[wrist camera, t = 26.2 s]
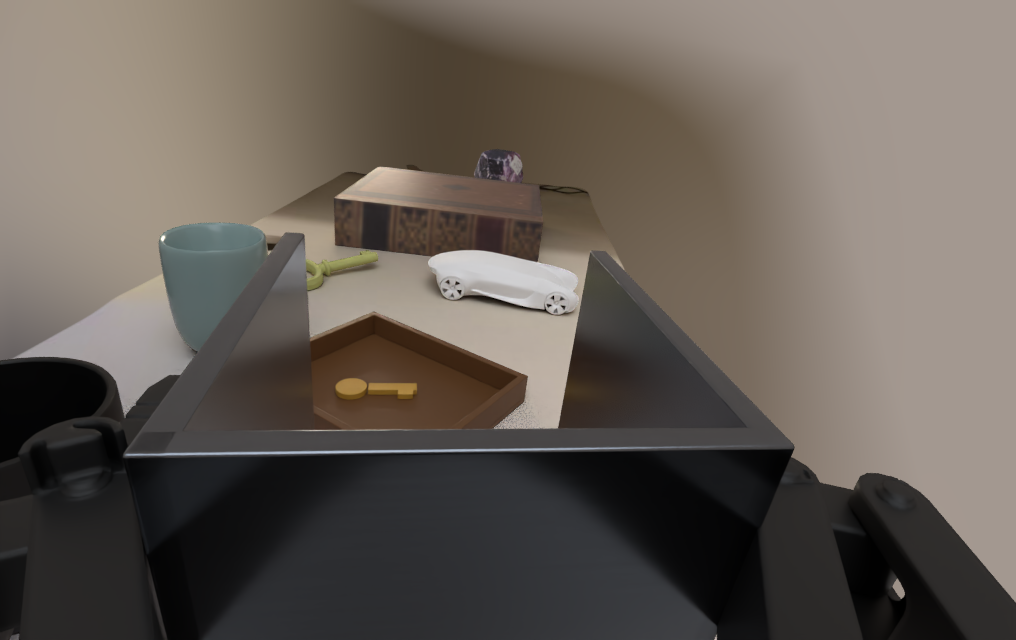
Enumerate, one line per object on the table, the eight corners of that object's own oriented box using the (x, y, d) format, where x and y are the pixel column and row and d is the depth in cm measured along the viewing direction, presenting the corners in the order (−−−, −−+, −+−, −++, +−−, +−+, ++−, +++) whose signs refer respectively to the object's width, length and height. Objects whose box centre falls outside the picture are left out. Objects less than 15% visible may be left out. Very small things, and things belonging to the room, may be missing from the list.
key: (382, 268, 68) (382, 252, 67) (299, 295, 59) (298, 276, 58) (343, 253, 71) (343, 238, 71) (259, 276, 62) (257, 259, 61)
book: (536, 267, 75) (543, 222, 72) (335, 245, 74) (333, 198, 71) (534, 221, 97) (538, 185, 94) (378, 203, 96) (378, 166, 93)
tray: (239, 395, 41) (235, 367, 40) (373, 334, 52) (373, 311, 51) (409, 499, 34) (410, 468, 33) (524, 401, 45) (528, 376, 44)
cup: (185, 327, 50) (167, 221, 45) (276, 322, 52) (268, 222, 48) (168, 370, 43) (146, 252, 39) (274, 363, 46) (264, 251, 42)
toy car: (575, 292, 68) (581, 258, 66) (576, 318, 61) (582, 281, 59) (435, 272, 69) (437, 238, 67) (420, 296, 62) (421, 258, 60)
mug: (-179, 748, 20) (-315, 577, 16) (-47, 512, 29) (-112, 369, 25) (131, 655, 24) (84, 500, 20) (157, 474, 33) (129, 346, 29)
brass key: (337, 377, 43) (337, 383, 43) (333, 394, 41) (333, 400, 41) (416, 378, 44) (416, 383, 45) (417, 394, 42) (416, 400, 42)
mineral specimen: (491, 196, 103) (485, 142, 102) (469, 204, 113) (464, 155, 112) (535, 194, 108) (529, 143, 107) (510, 202, 117) (505, 155, 116)
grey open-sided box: (659, 774, 12) (797, 446, 8) (214, 834, 10) (119, 454, 6) (560, 484, 20) (606, 250, 16) (302, 491, 18) (284, 231, 14)
